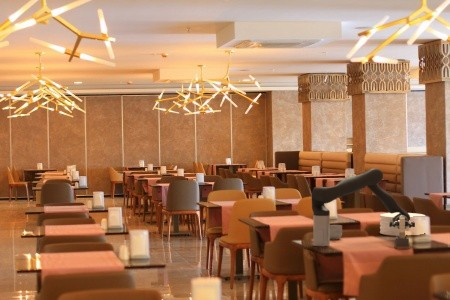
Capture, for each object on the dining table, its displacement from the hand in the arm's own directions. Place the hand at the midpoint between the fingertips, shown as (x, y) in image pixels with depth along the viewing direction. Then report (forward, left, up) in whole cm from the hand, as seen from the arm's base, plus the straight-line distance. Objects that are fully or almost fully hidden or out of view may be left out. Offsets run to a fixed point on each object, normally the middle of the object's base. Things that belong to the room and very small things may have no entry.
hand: (402, 225), depth 513 cm
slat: (-4, -1, -10) cm, 11 cm away
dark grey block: (-4, -1, -12) cm, 12 cm away
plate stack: (+56, +19, -12) cm, 60 cm away
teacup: (+11, +46, -12) cm, 49 cm away
